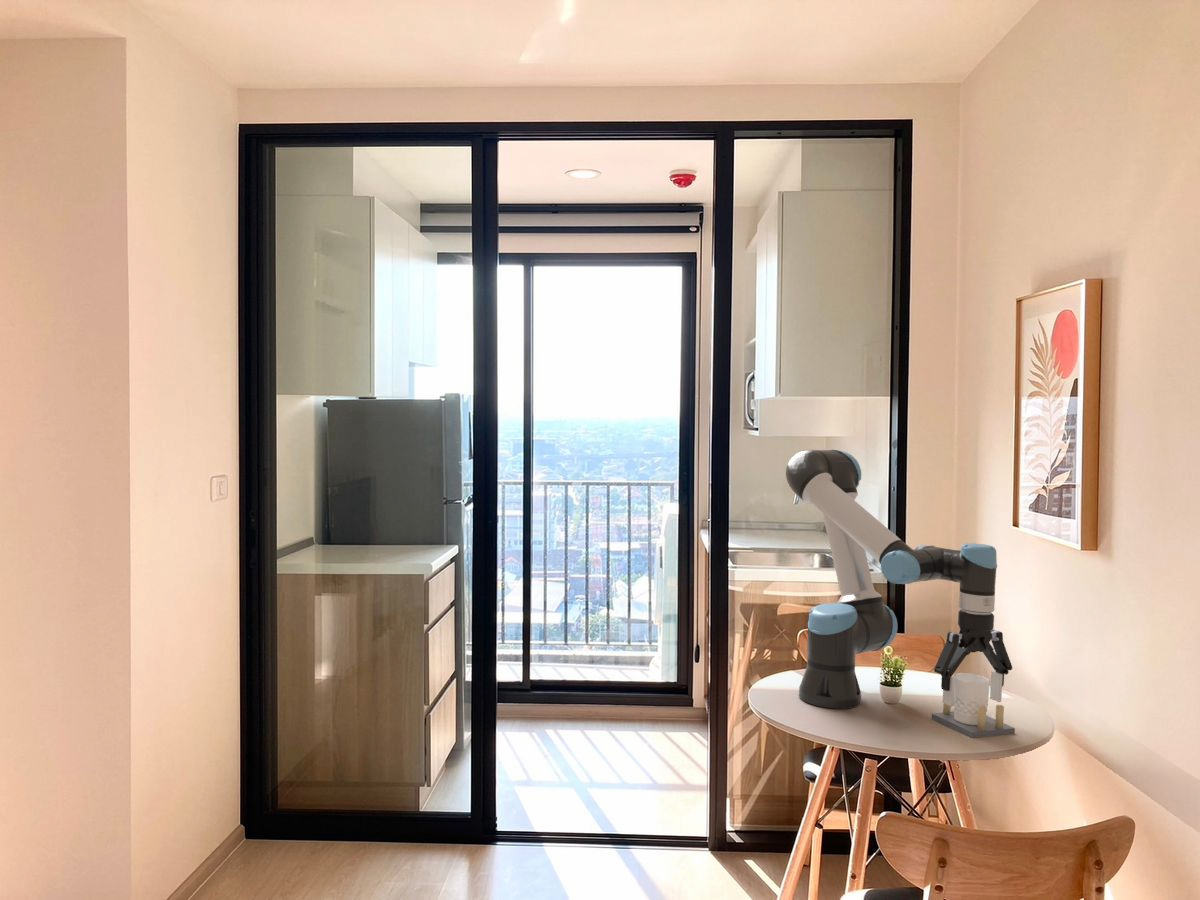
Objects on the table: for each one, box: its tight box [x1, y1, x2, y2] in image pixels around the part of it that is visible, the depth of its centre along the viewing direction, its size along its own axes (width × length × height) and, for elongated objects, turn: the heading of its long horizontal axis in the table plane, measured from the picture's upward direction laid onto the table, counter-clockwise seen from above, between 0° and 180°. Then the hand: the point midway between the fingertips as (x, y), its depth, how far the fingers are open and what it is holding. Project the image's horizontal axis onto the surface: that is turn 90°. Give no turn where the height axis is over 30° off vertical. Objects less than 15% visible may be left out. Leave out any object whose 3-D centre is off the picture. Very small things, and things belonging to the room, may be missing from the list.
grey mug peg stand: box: [931, 702, 1016, 739], centre depth 192 cm, size 12×13×6 cm
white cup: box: [952, 672, 991, 725], centre depth 192 cm, size 8×8×10 cm
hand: (972, 702), depth 192 cm, fingers open, 13 cm apart
